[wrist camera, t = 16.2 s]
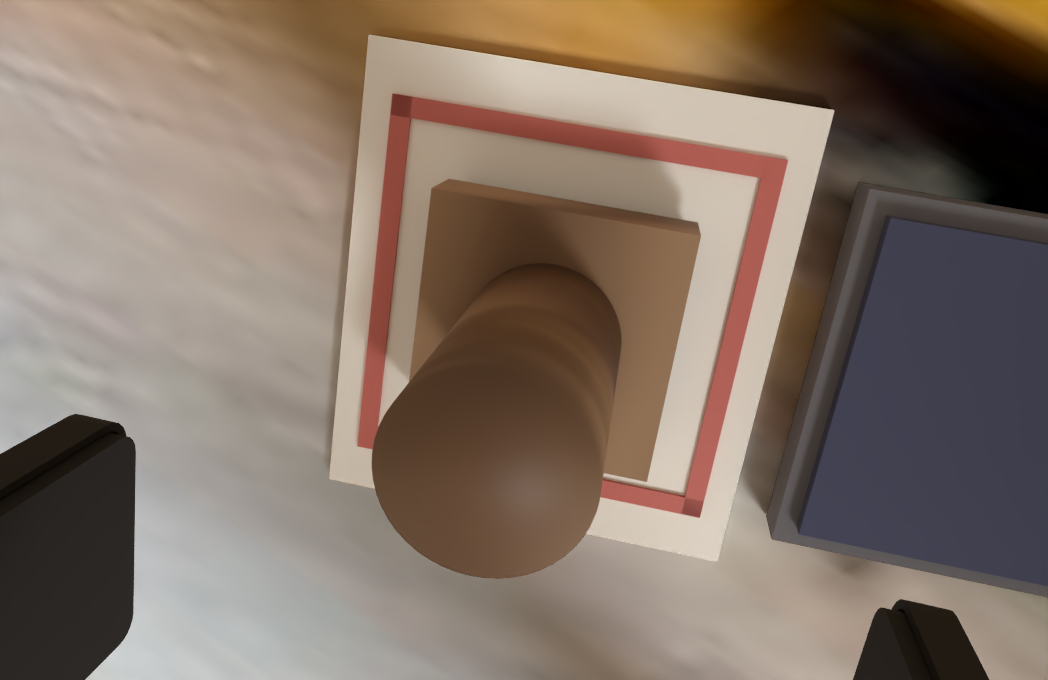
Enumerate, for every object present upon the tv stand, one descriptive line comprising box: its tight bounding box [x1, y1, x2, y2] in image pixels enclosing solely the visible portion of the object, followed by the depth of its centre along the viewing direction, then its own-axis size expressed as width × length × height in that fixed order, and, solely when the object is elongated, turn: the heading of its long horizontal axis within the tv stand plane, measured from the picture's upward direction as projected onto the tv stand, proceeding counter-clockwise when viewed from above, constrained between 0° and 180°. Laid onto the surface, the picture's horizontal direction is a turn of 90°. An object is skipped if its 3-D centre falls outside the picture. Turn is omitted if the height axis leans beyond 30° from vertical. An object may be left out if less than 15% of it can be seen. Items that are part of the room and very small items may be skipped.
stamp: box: [372, 179, 701, 578], centre depth 18 cm, size 6×6×9 cm
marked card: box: [329, 35, 835, 562], centre depth 22 cm, size 11×12×1 cm
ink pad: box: [766, 182, 1048, 597], centre depth 21 cm, size 9×9×2 cm
